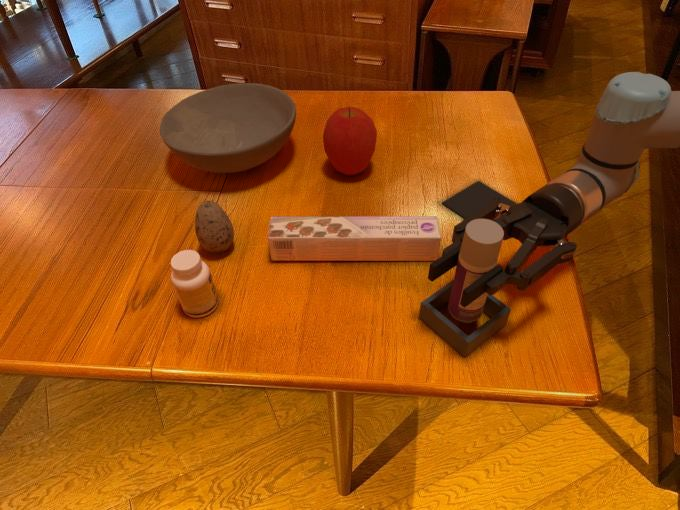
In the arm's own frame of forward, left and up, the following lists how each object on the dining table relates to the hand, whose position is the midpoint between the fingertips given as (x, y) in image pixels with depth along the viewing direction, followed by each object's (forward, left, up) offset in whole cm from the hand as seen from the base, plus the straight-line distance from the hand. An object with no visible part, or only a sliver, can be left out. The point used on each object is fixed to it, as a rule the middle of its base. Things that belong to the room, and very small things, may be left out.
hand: (447, 285), depth 59 cm
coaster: (+15, -27, -12) cm, 33 cm away
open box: (0, -5, -12) cm, 13 cm away
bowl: (+58, -1, -12) cm, 59 cm away
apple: (+39, -16, -12) cm, 44 cm away
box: (+21, -2, -12) cm, 24 cm away
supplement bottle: (+27, +23, -12) cm, 37 cm away
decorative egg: (+36, +15, -12) cm, 41 cm away
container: (0, -5, -9) cm, 11 cm away
